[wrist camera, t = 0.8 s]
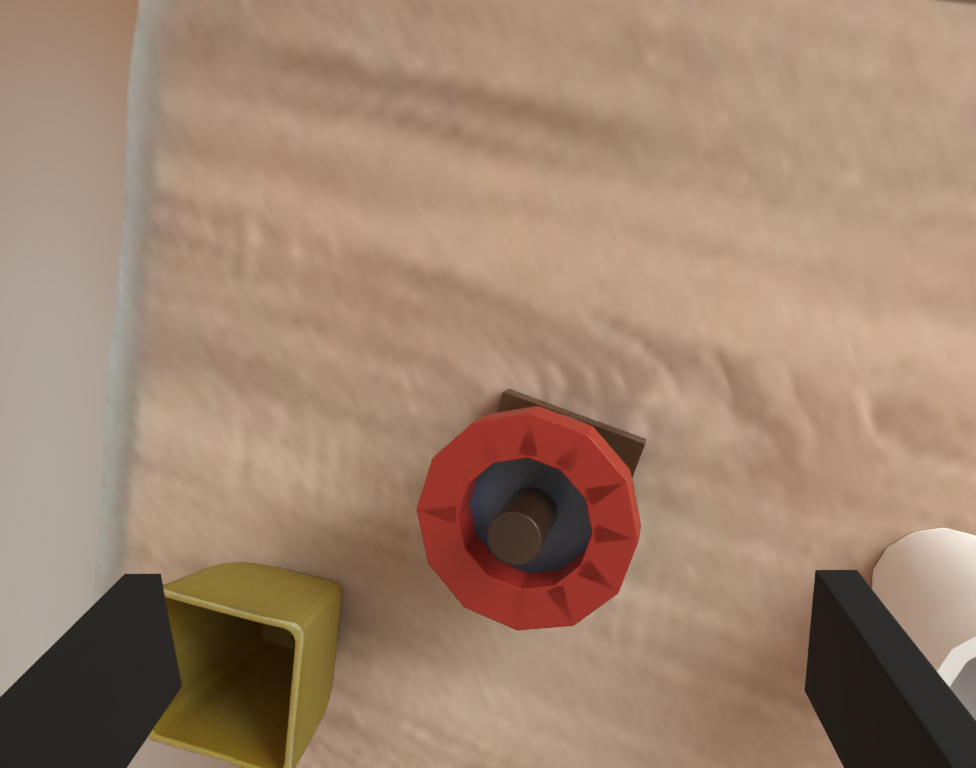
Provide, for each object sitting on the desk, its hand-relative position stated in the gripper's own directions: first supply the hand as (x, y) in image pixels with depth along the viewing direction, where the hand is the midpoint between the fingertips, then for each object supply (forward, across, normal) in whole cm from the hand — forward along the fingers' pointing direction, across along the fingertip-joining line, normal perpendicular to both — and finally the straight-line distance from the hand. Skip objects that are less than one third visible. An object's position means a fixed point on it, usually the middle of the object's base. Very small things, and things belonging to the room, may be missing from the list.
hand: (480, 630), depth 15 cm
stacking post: (+25, -2, +8) cm, 27 cm away
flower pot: (+27, +14, +17) cm, 35 cm away
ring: (+20, -1, +7) cm, 21 cm away
